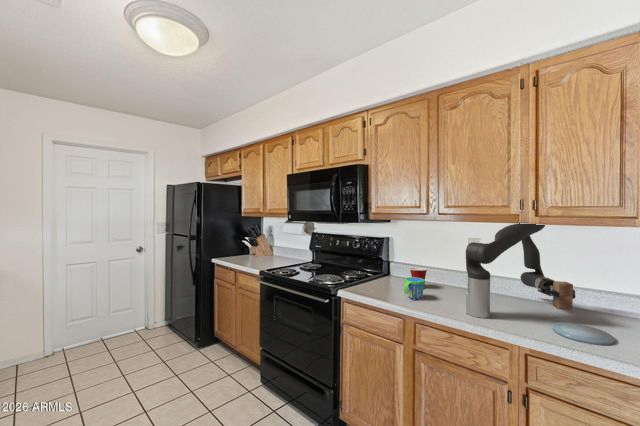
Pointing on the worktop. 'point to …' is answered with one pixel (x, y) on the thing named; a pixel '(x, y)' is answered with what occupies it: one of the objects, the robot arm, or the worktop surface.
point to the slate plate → (583, 333)
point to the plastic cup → (418, 272)
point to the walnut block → (563, 295)
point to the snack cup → (414, 287)
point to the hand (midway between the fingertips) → (565, 295)
